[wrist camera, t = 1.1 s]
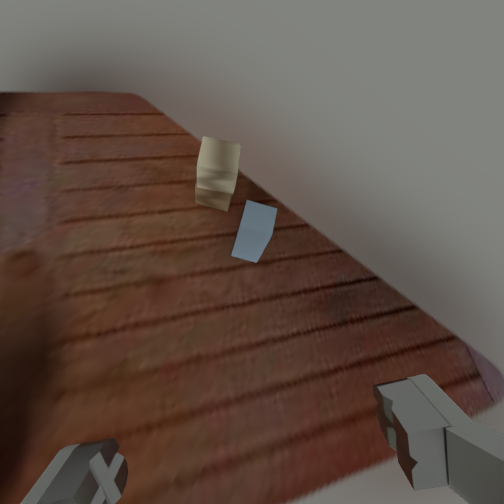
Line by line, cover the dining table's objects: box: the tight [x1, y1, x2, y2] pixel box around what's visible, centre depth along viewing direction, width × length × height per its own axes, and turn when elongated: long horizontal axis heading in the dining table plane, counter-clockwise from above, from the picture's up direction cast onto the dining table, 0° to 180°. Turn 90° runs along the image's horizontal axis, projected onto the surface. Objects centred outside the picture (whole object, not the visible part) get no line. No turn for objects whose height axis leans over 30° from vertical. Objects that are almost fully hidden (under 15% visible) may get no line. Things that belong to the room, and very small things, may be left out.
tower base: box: [195, 169, 239, 212], centre depth 45 cm, size 6×6×5 cm
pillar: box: [231, 200, 277, 263], centre depth 39 cm, size 4×4×10 cm
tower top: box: [197, 136, 241, 194], centre depth 40 cm, size 6×6×5 cm
